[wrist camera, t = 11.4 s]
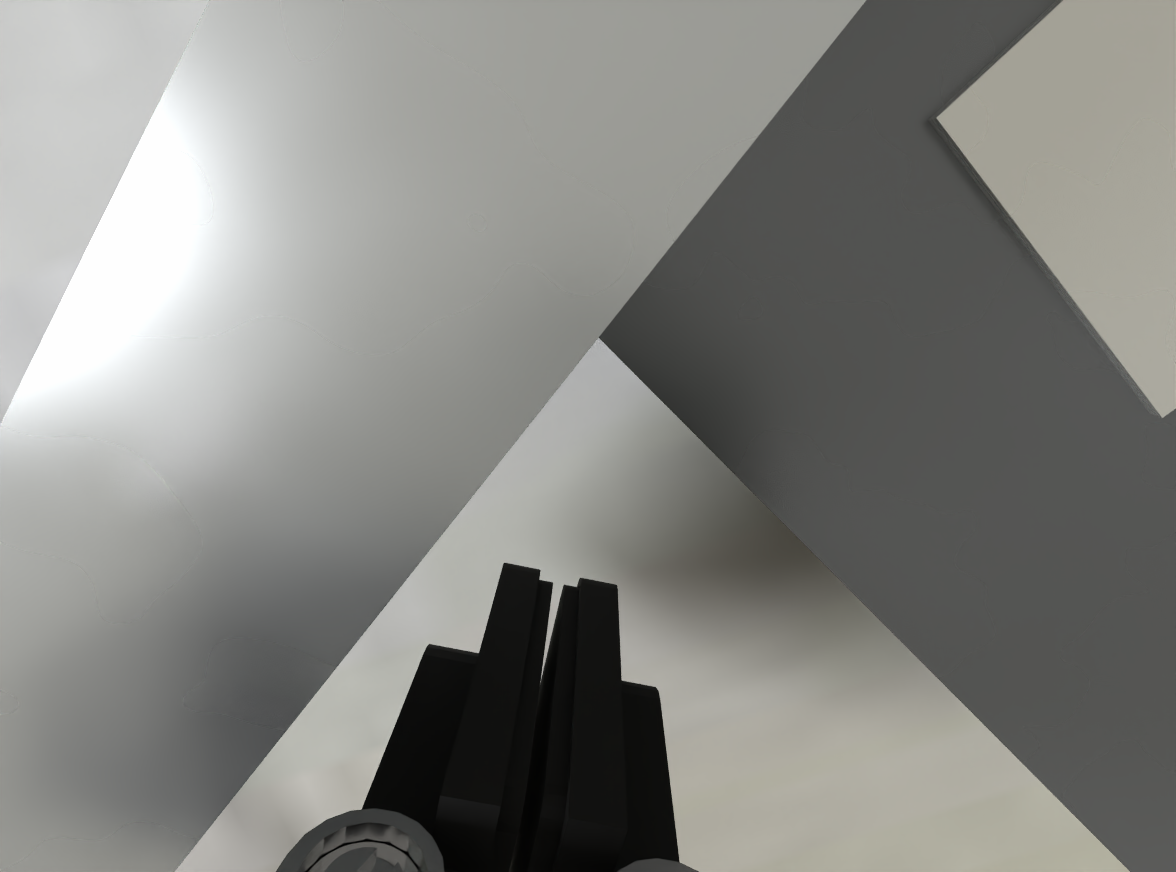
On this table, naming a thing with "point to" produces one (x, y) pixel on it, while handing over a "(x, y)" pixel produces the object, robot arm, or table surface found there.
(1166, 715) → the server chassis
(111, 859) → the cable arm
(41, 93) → the table surface
